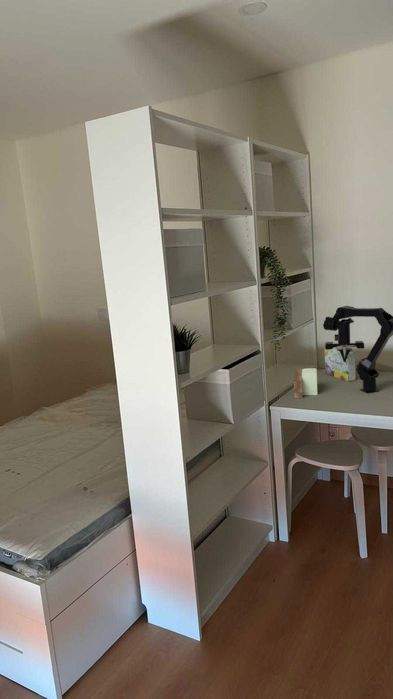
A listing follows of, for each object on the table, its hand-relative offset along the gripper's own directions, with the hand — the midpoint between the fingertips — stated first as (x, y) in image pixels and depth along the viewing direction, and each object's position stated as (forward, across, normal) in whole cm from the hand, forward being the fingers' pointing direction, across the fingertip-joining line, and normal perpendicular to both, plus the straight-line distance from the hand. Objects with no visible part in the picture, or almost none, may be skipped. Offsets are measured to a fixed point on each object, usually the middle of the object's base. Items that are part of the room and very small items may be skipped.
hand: (344, 361), depth 270 cm
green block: (+13, +18, +8) cm, 23 cm away
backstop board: (+13, +23, +8) cm, 28 cm away
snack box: (+14, +1, -20) cm, 24 cm away
